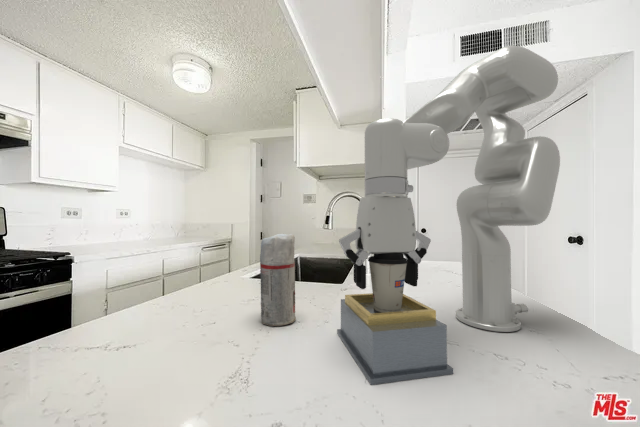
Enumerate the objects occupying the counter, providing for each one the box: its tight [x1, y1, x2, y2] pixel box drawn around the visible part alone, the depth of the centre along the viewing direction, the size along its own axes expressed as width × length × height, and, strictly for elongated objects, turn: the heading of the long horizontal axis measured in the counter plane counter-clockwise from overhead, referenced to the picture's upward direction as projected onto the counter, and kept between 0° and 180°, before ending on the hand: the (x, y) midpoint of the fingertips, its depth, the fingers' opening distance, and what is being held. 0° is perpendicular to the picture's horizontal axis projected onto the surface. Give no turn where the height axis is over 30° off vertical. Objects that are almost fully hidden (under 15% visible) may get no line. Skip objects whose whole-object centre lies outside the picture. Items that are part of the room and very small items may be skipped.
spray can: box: [259, 233, 297, 327], centre depth 60 cm, size 8×8×20 cm
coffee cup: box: [367, 253, 408, 313], centre depth 46 cm, size 7×7×10 cm
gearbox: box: [336, 292, 454, 386], centre depth 46 cm, size 17×15×8 cm
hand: (386, 285), depth 46 cm, fingers open, 9 cm apart
